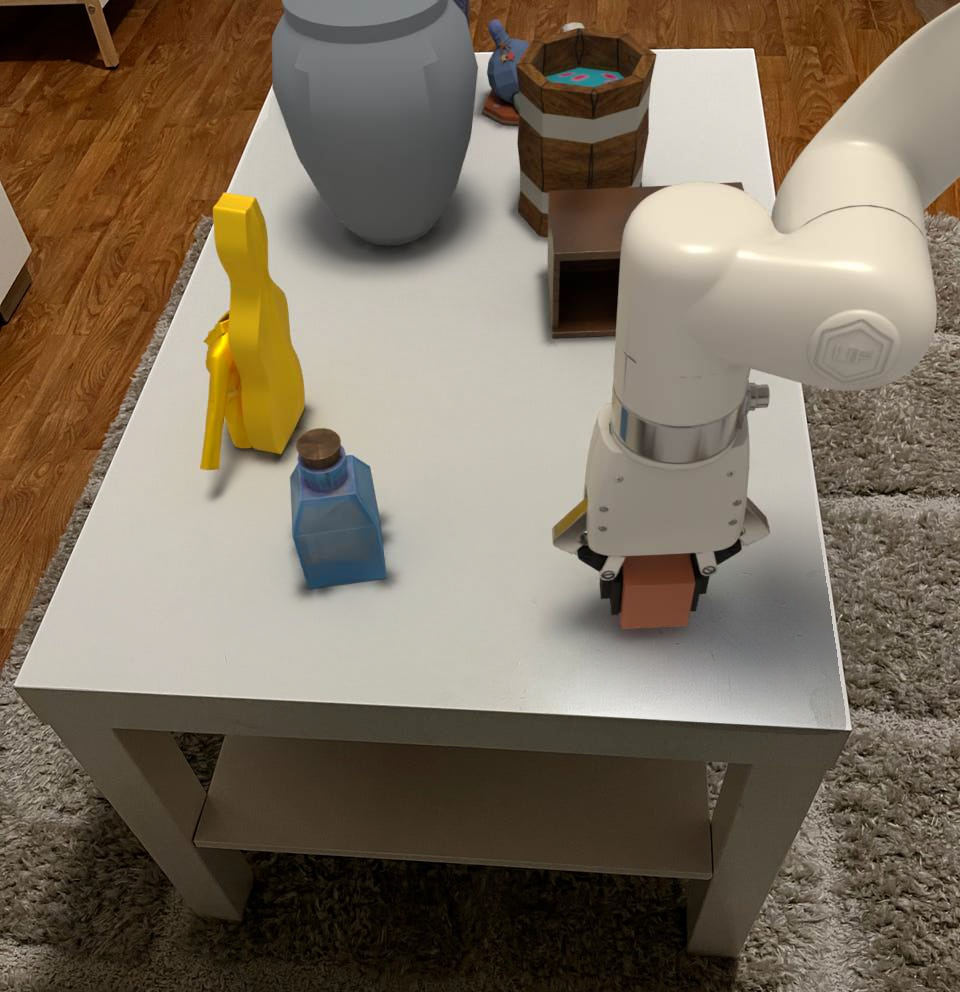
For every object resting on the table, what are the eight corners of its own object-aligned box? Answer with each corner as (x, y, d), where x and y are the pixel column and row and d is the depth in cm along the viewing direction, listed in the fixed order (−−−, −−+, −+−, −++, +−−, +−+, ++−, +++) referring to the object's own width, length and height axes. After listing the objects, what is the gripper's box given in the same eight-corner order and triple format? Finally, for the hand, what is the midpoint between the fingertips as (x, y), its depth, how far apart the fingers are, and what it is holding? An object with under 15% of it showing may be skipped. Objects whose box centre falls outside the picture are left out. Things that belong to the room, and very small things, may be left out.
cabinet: (726, 267, 98) (741, 181, 90) (742, 330, 92) (760, 244, 85) (547, 275, 98) (548, 190, 91) (552, 338, 92) (554, 253, 85)
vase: (295, 285, 99) (236, 24, 79) (311, 181, 110) (263, -70, 90) (486, 276, 99) (475, 11, 79) (482, 172, 110) (472, -82, 90)
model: (476, 122, 116) (472, 39, 109) (493, 85, 121) (491, 3, 114) (575, 130, 114) (578, 45, 107) (588, 91, 119) (592, 8, 112)
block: (679, 574, 73) (686, 530, 69) (687, 626, 70) (695, 583, 66) (615, 577, 73) (618, 534, 69) (621, 629, 71) (625, 586, 67)
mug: (652, 238, 101) (668, 89, 89) (522, 248, 101) (521, 99, 89) (625, 141, 112) (637, -4, 100) (509, 149, 112) (506, 6, 100)
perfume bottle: (380, 520, 80) (359, 408, 70) (386, 578, 76) (365, 468, 67) (305, 530, 80) (273, 419, 70) (308, 589, 76) (275, 480, 66)
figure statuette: (266, 362, 92) (202, 129, 74) (344, 372, 91) (298, 138, 73) (192, 496, 83) (97, 265, 65) (278, 509, 81) (206, 278, 63)
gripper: (809, 357, 58) (758, 553, 73) (528, 373, 59) (533, 564, 74) (837, 444, 54) (776, 634, 69) (533, 460, 55) (538, 644, 70)
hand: (651, 596), depth 71 cm, fingers closed on block, 4 cm apart
